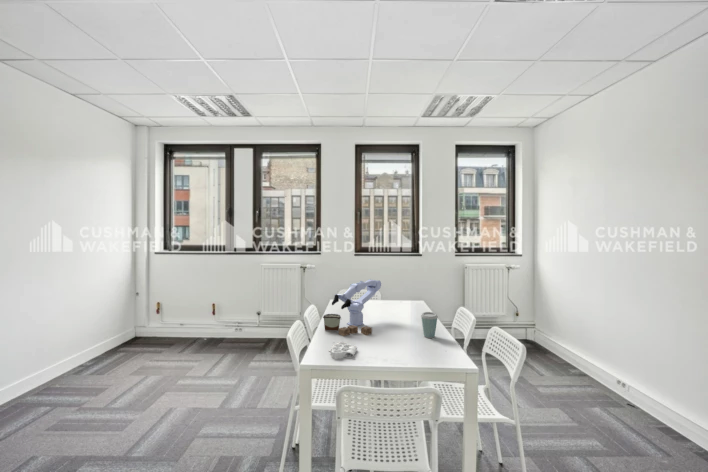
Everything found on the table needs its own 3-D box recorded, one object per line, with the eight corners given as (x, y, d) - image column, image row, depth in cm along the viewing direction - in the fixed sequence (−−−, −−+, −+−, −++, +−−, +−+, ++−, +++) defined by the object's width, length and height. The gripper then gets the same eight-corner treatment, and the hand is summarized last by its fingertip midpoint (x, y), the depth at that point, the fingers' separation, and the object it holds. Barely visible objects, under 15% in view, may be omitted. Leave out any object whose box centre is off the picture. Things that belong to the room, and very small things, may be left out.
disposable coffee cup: (437, 340, 212) (438, 316, 211) (420, 338, 214) (420, 315, 214) (436, 334, 222) (437, 312, 222) (420, 333, 224) (420, 311, 224)
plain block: (352, 331, 227) (353, 325, 227) (357, 332, 223) (357, 326, 223) (347, 332, 223) (347, 326, 223) (352, 334, 220) (352, 328, 219)
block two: (344, 332, 222) (344, 326, 222) (349, 334, 218) (349, 328, 218) (338, 334, 219) (339, 328, 219) (343, 336, 215) (343, 330, 215)
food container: (342, 328, 231) (342, 314, 231) (340, 331, 225) (341, 316, 225) (324, 327, 232) (324, 313, 232) (322, 330, 226) (322, 315, 226)
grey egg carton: (352, 361, 176) (325, 358, 179) (358, 349, 194) (333, 346, 197) (352, 354, 176) (325, 352, 179) (358, 343, 194) (333, 341, 197)
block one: (366, 332, 225) (366, 325, 225) (371, 333, 221) (371, 327, 221) (360, 333, 222) (361, 327, 222) (366, 335, 218) (366, 329, 218)
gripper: (339, 286, 236) (327, 297, 226) (357, 293, 229) (345, 305, 219) (339, 294, 239) (328, 305, 229) (357, 301, 232) (346, 313, 222)
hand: (336, 306), depth 224 cm, fingers open, 7 cm apart
